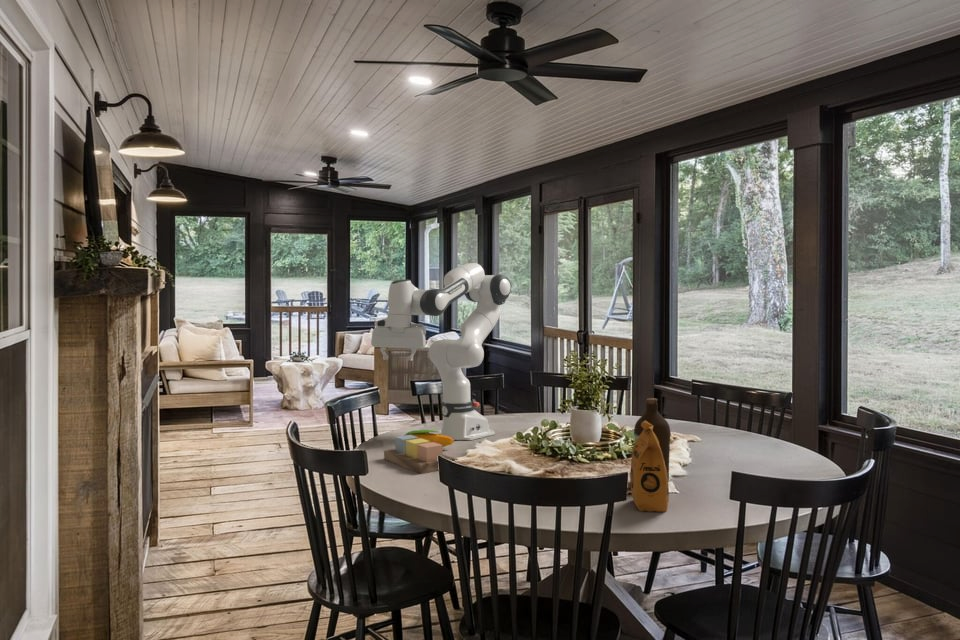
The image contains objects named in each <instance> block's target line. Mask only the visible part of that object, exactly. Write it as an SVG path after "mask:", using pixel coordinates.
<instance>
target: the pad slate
mask: <svg viewBox="0 0 960 640" xmlns="http://www.w3.org/2000/svg"><path fill="white" fill-rule="evenodd" d="M404 435H405V434H404ZM404 435H400V436H399V435H398V436H395V437H394V441H395V442H394V444H395V446H394V447H395V448H394V449H395V451H397V452H400V453H403V454H404V453H406V441H407V440H413V439H418V437H416V436H413V435H405V436H404Z"/></svg>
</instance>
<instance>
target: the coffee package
mask: <svg viewBox="0 0 960 640" xmlns="http://www.w3.org/2000/svg"><path fill="white" fill-rule="evenodd" d="M641 427H642V428H644V429H643V431H642V433H641V434H640V436H639V437H638V439H637V440H636V442H635V441H634V444H633V447H632V450H631V451H632V452H631V461H630V470H629V471H630V473H629V474H630V475H629V477H630V478H629V480H630V491H631V492H630V493H631V497H632V500H633V503H634V504H635V506H636V508H637V510H638V511H640V512H655V513H656V512H659V513H660V512H661V513H663V512H664V513H666V512H667V510H668V503H669V499H670V498H669V497H670V492H669V491H670V489H669V482H668V476H667V469H666V466H665V462H664V458H663V455H662V451H661V448H660V445H659V441H658V439H657V437H656V435H655V434H654V432H653V431H652V430H653V425H652V424H650V423H648V422H647V421H644V422H642V423H641Z"/></svg>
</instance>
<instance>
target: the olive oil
mask: <svg viewBox="0 0 960 640" xmlns="http://www.w3.org/2000/svg"><path fill="white" fill-rule="evenodd" d="M658 405H659V404H658V398H655V397H648V398H646V403H645V408H646V409H645V412H644V413H643V414H642V415H641V416H640V417H639V418H638V420H636V422H635V424H634V429H633V432H634V433H633V436H634V443H635V442H636V440H637V439H638V437H639V436H640V434H641V433H642V431H643V429H644V428H642V427H641V423H642V422H644V421H647V422H648V423H650V424H652V425H653V430H652V431H653V432H654V434H655V435H656V437H657V439H658V441H659V445H660V448H661V451H662V455H663V458H664V462H665V466H666V469H667V476H668V483H669V481H670V451H671V449H670V447H671V428H670V427H671V426H670V425H669V423H668V421H667V420H666V418H665V417H663V416H662V414H661V413H660V412H659V411H658Z"/></svg>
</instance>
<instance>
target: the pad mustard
mask: <svg viewBox="0 0 960 640" xmlns="http://www.w3.org/2000/svg"><path fill="white" fill-rule="evenodd" d="M424 443H430V441H428V440H425V439H422V438H420V439H413V440H407V441H406V455H408V456H411V457H413V458H417V457H418V444H424Z"/></svg>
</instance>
